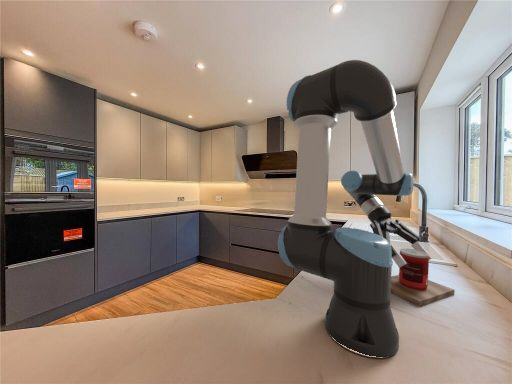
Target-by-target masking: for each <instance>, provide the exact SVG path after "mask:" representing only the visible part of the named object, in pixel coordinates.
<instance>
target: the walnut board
mask: <svg viewBox="0 0 512 384" xmlns="http://www.w3.org/2000/svg"><path fill="white" fill-rule="evenodd" d="M455 290H456V289H454V288H451V287H449V286H446V285H444V284H440V283H437V282H434V281H433V280H432V281H431V280H429V279H428V287H427V289H425V290H415V289H411V288H408V287H406V286H404V285H402V284H401V283H400V281H399V274H396V275H391V294H393V295H395V296H396V297H400V298H401V299H403V300H406V301H407V302H409V303H412V304H414V305H415V306H418V307H423V306H425V305H428V304H431V303H433V302H434V303H435V302H437V301H439V300H443V299H446V298H448V297H451V296H454V295H455V292H456V291H455Z"/></svg>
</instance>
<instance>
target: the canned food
mask: <svg viewBox="0 0 512 384" xmlns="http://www.w3.org/2000/svg"><path fill="white" fill-rule="evenodd" d="M428 253H429V252H428ZM428 253H426V252H423V251H420V250H415V249H414V248H401V249H399V254H400V255H401V256H402V258H403V259H404V260H405V261H406V263H407V264H405V265H403V266H402V267H398V275H399V281H400V283H401V284H402V285H404V286H406V287H408V288H411V289H415V290H425V289H427V287H428V280H429V267H430V265H429V264H430V262H429V261H430V260H429V254H430V253H429V254H428Z"/></svg>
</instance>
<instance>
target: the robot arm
mask: <svg viewBox="0 0 512 384" xmlns="http://www.w3.org/2000/svg"><path fill="white" fill-rule="evenodd" d="M394 88H395V87H394V86H393V84H392V83H391V81H390V80H389V78H388V76H386V75H385V73H384V72H383V71H381V70H380V69H379V68H378V67H376V66H375V65H373V64H372V63H370V62H368V61H365V60H360V59H349V60H346V61H343V62H340V63H338V64H336V65H334V66H331V67H329V68H327V69H324V70H322V71H319V72H316V73H314V74H312V75H311V74H309V75H306V76H303V77H302V78H301V79H298V80H297V81H295V82H294V83H293V84H292V85H291V86H290V88H289V90H288V93H287V97H286V110H287V111H288V112H287V114H288V117H289V118H290V120H291V121H292V123H294V124H293V126H294V127H295V128H296V129H297V130H298V141H297V142H298V144H297V157H296V160H297V161H296V174H295V175H296V176H295V177H296V178H295V191H294V192H295V193H294V195H295V196H294V209H293V210H294V211H293V215H292V216H291V217H289V218H288V220H287V225H285V226H283V228H281V230H280V233H279V234H278V240H277V248H278V253H279V256H280V259H281V260H282V261H283V263H284V264H285V265H287V266H288V267H290V268H293V269H295V270H297V271H300V272H301V271H302V272H305V273H308V274H311V275H314V276H317V277H321V278H324V279H326V280H329V281H333V295H332V297H331V300H330V302H329V304H328V308H327V310H326V313H325V321H324V323H325V325H324V326H326V327H325V330H326V329H327V330H326V332H327V331H328V332H327V334H328V333H329V334H330V335H331V336H332V337H333V338H334V339H335V340H336V341H337V342H339V343H340V344H342V345H344V346H346V347H347V348H349V349H352V350H354V351H357V352H359V353H362V354H365V355H369V356H376V357H387V356H391V357H393V356H394V355H396V354H395V353H398V351H399V348H400V334H399V331H398V328H397V325H396V322H395V318H394V315H393V312H392V308H391V294H392V293H391V277H392V266H393V264H394V262H395V264H396V266H397V267H398V268H399V267H402V266H403V265H405V264H407V263H406V261H405V260H404V259H403V258H402V256H401V255H400V251H398V250H397V249H396V247H395V245H393V244H391V239H390V234H393V235H397V236H398V237H401V238H402V239H404V240H405V241H406V242H408V243H409V244H411V248H412V249H415V250H420V251H423V252H426V253H428V254H429V261H430V260H433V256H431V254H430V253H429V252H428V251H427V249H426V248H425V247H424V246H423V245H422V243H420V241H421V239H422V238H421V237H420V236H419V235H418V234H417V233H415V232H414V231H413V230H411V229H410V228H409V227H407V226H406V225H405V224H404V223H402V221H400V220H399V219H397V218H396V219H395V220H393V219H392V213H391V211H390V210H389V209H388V208H387V206H385V204H384V203H383V202H382V201H381V200H380V198H379V197H378V196H392V197H393V196H396V197H399V196H401V197H402V196H405V197H407V196H411V195H412V194H413V191H414V187H415V186H414V182H415V180H414V176H413V174H412V173H407V172H405V171H404V166H403V165H404V164H403V160H402V154H401V148H400V143H399V137H398V132H397V127H396V119H395V115H394V110H395V108H396V106H397V96H396V92H395V89H394ZM349 112H351V113H352V114H353V115H354V118H355V120H356V121H358V122H360V124H361V127H362V130H363V134H364V137H365V140H366V143H367V147H368V149H369V153H370V157H371V161H372V163H373V166H374V170H375V172H376V173H375V174H373V173H371V174H368V173H367V174H362V173H360V172H358V171H356V170H348V171H347V172H345V173H344V174H343V175H342V177H341V178H340V184H341V186H342V187H343V189H344V190H345V191H346V192H347V193H348V194H349V195H350V196H351V197H352V199H353V200H354V201H355V202H356V204H357V205H358V206H359V207H360V210H362V211H363V213H364V214H365V216H366V217H367V219H368V220H369V222H371V223H370V224H369V227H370V228H371V229H372V231H368V230H364V229H361V228H360V229H359V228H355V227H353V228H352V227H345V226H343V227H338V228H336V229H335V231H332V226H333V225H332V222H331V221H330V220H329V219H328V218H327V208H328V207H327V203H328V187H329V169H330V168H329V167H330V151H331V137H332V136H331V133H332V130H333V129H334V128H335V127H336V126H337V124H338V115H340V114H345V113H349ZM329 334H328V335H329ZM330 335H329V336H330ZM331 336H330V337H331ZM337 342H336V343H337ZM393 354H394V355H393ZM392 355H393V356H392Z"/></svg>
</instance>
